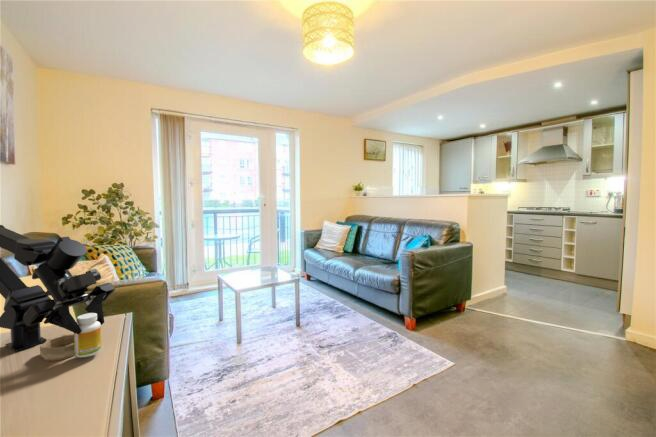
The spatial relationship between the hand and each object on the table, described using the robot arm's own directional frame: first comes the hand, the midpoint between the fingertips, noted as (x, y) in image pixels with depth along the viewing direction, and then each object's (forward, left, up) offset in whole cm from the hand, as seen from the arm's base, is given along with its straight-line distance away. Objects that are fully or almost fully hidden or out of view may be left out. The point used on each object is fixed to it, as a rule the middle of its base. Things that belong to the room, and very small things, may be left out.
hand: (91, 328), depth 76 cm
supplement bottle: (-1, 0, -7) cm, 7 cm away
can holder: (-9, -2, -8) cm, 12 cm away
